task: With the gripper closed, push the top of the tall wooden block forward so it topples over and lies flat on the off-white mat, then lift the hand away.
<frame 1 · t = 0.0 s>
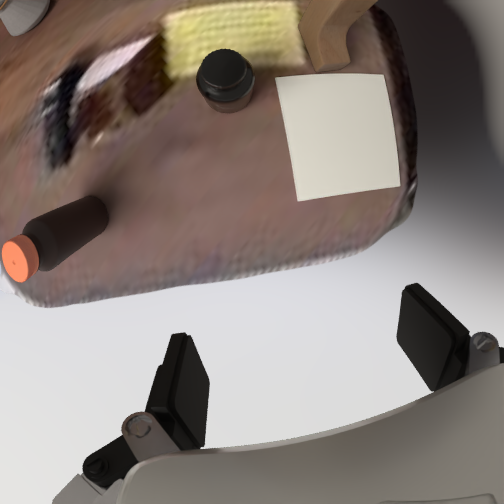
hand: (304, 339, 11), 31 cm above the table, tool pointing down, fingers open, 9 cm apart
off-white mat: (344, 132, 37), on the table
coffee pot: (53, 1, 22), on the table
vinegar: (92, 215, 39), on the table
supplement bottle: (228, 92, 34), on the table
wooden block: (318, 47, 32), on the table
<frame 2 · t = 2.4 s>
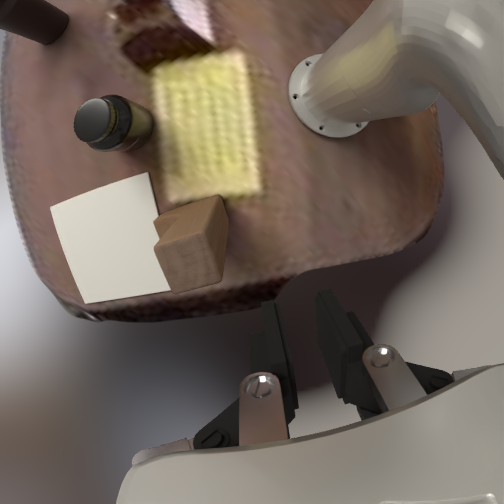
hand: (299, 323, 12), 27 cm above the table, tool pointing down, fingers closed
off-white mat: (109, 245, 38), on the table
vinegar: (54, 29, 23), on the table
supplement bottle: (132, 127, 32), on the table
wooden block: (195, 217, 38), on the table
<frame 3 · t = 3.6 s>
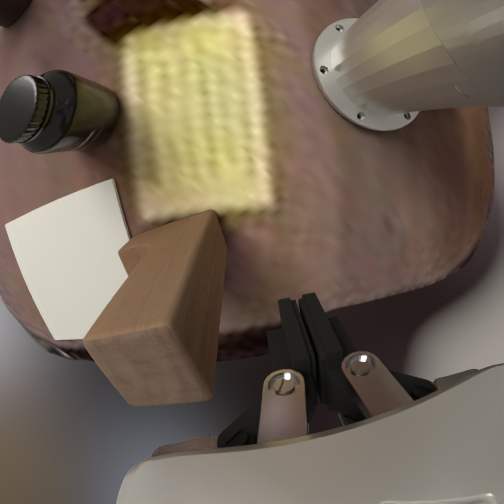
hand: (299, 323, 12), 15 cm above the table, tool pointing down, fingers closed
off-white mat: (73, 274, 27), on the table
vinegar: (18, 8, 12), on the table
supplement bottle: (94, 117, 21), on the table
wooden block: (179, 242, 27), on the table
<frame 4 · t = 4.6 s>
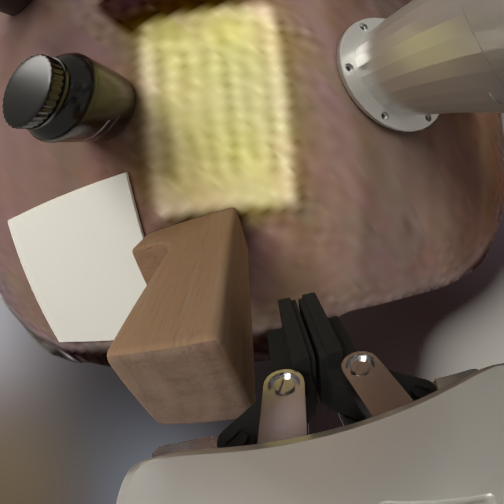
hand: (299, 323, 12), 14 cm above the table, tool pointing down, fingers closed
off-white mat: (80, 274, 26), on the table
supplement bottle: (107, 107, 20), on the table
wooden block: (197, 240, 26), on the table, touching gripper
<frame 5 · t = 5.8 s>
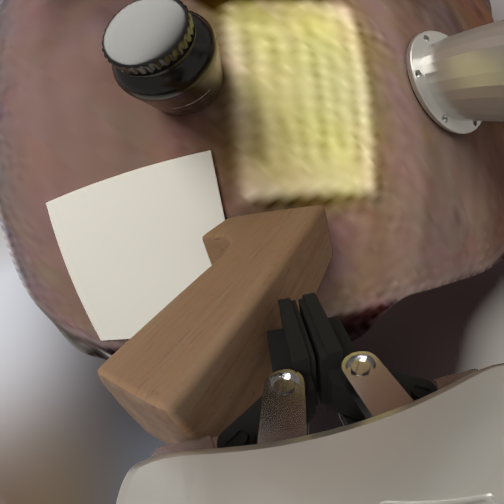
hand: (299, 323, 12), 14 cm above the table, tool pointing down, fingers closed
off-white mat: (140, 262, 26), on the table
supplement bottle: (186, 81, 20), on the table
wooden block: (280, 233, 23), point 2 cm above the table
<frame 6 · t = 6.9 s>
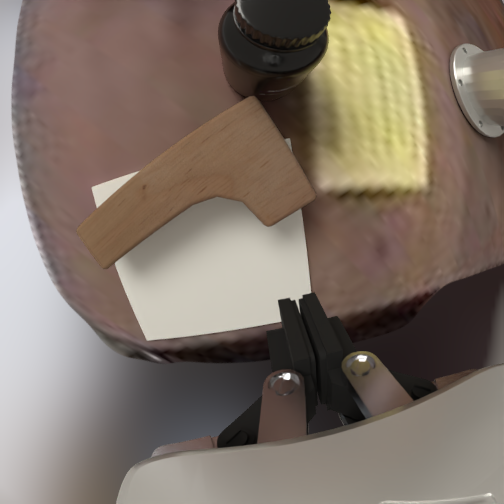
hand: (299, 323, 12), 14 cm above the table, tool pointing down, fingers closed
off-white mat: (204, 252, 26), on the table
supplement bottle: (262, 68, 20), on the table
wooden block: (286, 144, 20), point 3 cm above the table, touching off-white mat
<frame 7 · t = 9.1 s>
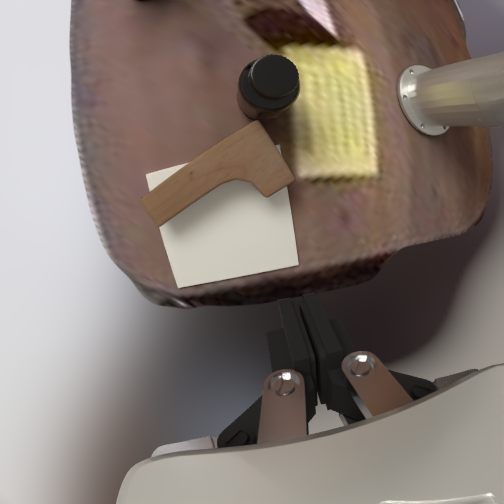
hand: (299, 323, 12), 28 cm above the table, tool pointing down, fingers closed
off-white mat: (224, 219, 39), on the table
supplement bottle: (262, 98, 33), on the table
wooden block: (276, 148, 33), point 3 cm above the table, touching off-white mat
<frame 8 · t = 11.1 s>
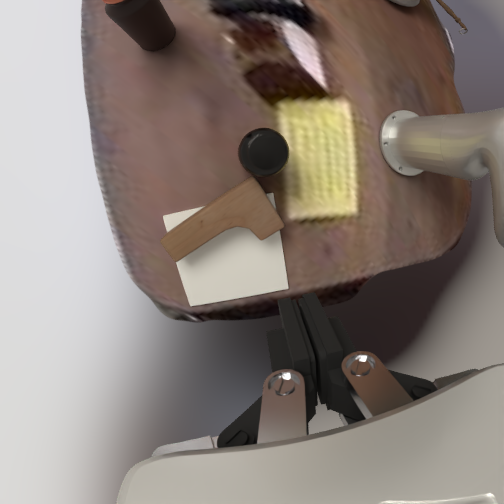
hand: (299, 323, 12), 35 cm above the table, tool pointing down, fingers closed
off-white mat: (228, 253, 48), on the table
coffee pot: (401, 7, 31), on the table
vinegar: (157, 36, 33), on the table
supplement bottle: (259, 152, 42), on the table
wooden block: (270, 199, 42), point 3 cm above the table, touching off-white mat
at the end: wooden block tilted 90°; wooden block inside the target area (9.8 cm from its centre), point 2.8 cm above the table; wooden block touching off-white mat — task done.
